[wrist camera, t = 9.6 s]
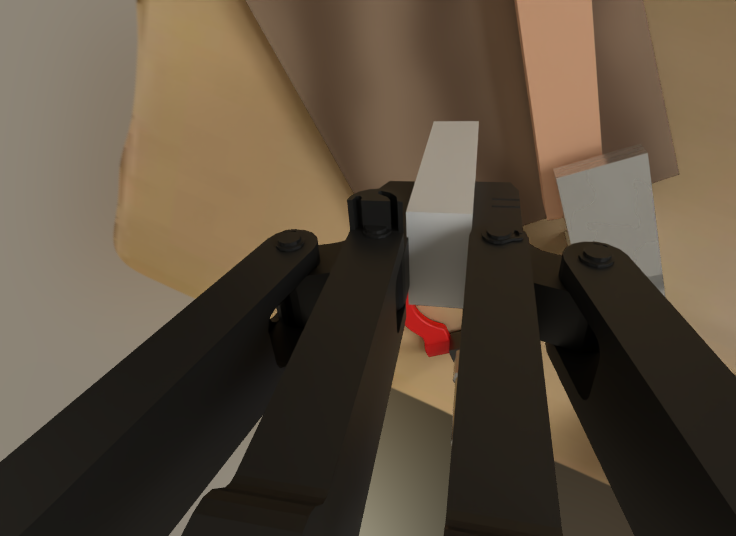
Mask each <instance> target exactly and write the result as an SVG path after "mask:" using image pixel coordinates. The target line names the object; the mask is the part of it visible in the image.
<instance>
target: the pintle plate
mask: <svg viewBox="0 0 736 536" xmlns="http://www.w3.org/2000/svg"><path fill="white" fill-rule="evenodd" d="M245 1H246V2H247V4H248V6H249V8H250V10H251V11H252V13H253V15H254V17H255V18H256V20H257V22H258V24H259V26H260V27H261V29H262V31H263V33H264V34H265V36H266V38H267V40H268V42H269V43H270V45H271V47H272V49H273V50H274V52H275V54H276V56H277V58H278V59H279V61H280V63H281V65H282V66H283V68H284V70H285V72H286V74H287V75H288V77H289V79H290V81H291V82H292V84H293V86H294V88H295V90H296V91H297V93H298V95H299V97H300V98H301V100H302V102H303V104H304V106H305V107H306V109H307V111H308V113H309V114H310V116H311V118H312V120H313V122H314V123H315V125H316V127H317V129H318V130H319V132H320V134H321V136H322V138H323V139H324V141H325V143H326V145H327V146H328V148H329V150H330V152H331V154H332V155H333V157H334V159H335V161H336V162H337V164H338V166H339V168H340V170H341V171H342V173H343V175H344V177H345V178H346V180H347V182H348V184H349V186H350V187H351V189H352V191H353V193H354V194H355V193H357V192H359V191H364V190H368V189H379V188H380V187H382V186H383V185H385V184H386V183H387V182H389V181H416V178H417V174H418V171H419V168H420V165H421V161H422V158H423V155H424V152H425V148H426V145H427V142H428V139H429V136H430V132H431V129H432V126H433V123H434V121H479V129H478V145H477V161H476V178H475V181H476V182H511V183H512V184H513V185H514V186H515V187H516V188H517V189H518V190H519V198H520V208H521V217H522V226H524V225H527V224H530V223H533V222H536V221H539V220H542V219H545V218H547V217H546V213H545V208H544V204H543V200H542V193H541V186H540V179H539V172H538V165H537V158H536V151H535V143H534V136H533V129H532V122H531V115H530V108H529V101H528V94H527V87H526V80H525V73H524V66H523V59H522V52H521V45H520V38H519V31H518V23H517V16H516V9H515V2H514V0H245ZM592 11H593V26H594V41H595V56H596V70H597V85H598V100H599V114H600V129H601V144H602V155H603V154H607V153H610V152H614V151H617V150H621V149H624V148H628V147H631V146H635V145H638V144H641V145H642V146H643V148H644V149H645V150H646V151H647V153H648V159H649V167H650V175H651V184H652V183H655V182H658V181H661V180H664V179H667V178H670V177H673V176H676V175H679V170H678V165H677V160H676V155H675V151H674V146H673V141H672V136H671V131H670V127H669V122H668V117H667V112H666V107H665V103H664V98H663V93H662V88H661V83H660V79H659V74H658V69H657V64H656V59H655V55H654V50H653V45H652V40H651V35H650V31H649V26H648V21H647V16H646V11H645V7H644V2H643V0H592Z"/></svg>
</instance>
